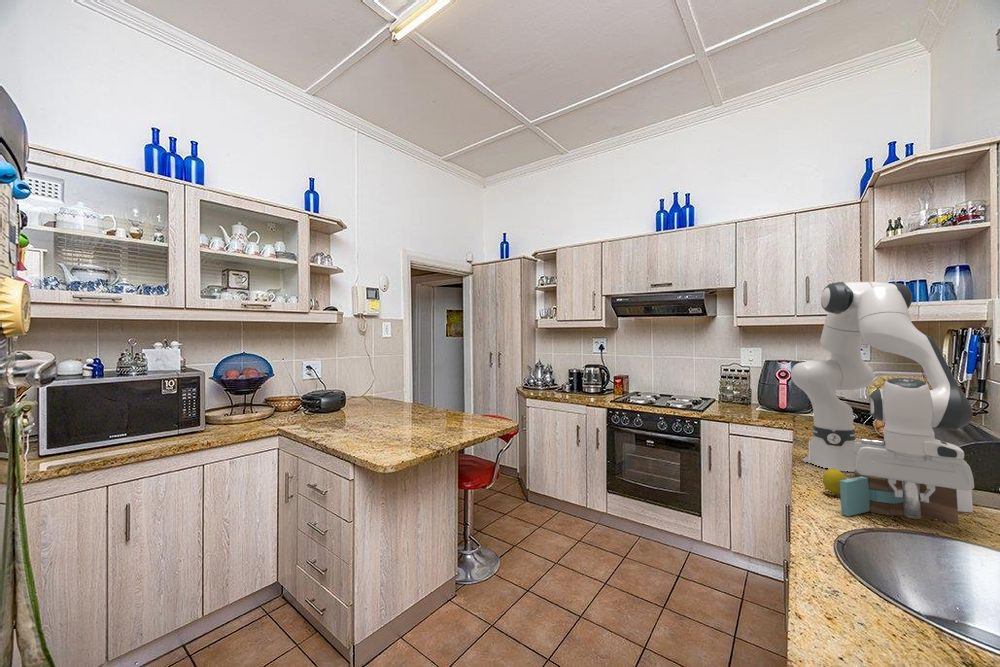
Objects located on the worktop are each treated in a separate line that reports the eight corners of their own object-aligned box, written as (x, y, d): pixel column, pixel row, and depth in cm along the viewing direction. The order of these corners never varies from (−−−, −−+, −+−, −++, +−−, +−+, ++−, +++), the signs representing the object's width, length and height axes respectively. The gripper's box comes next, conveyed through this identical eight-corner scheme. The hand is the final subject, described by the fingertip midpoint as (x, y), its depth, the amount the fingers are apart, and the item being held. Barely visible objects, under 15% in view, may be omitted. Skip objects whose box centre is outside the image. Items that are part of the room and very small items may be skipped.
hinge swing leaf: (868, 498, 112) (867, 468, 112) (910, 511, 103) (908, 478, 104) (825, 508, 106) (823, 476, 106) (865, 522, 97) (863, 487, 98)
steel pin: (902, 512, 99) (900, 469, 99) (919, 515, 97) (917, 471, 97) (904, 516, 97) (902, 472, 97) (921, 520, 95) (919, 474, 95)
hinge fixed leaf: (855, 499, 113) (854, 467, 113) (953, 516, 100) (951, 481, 101) (857, 509, 106) (855, 475, 106) (962, 529, 94) (959, 491, 94)
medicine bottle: (952, 502, 109) (949, 459, 110) (973, 513, 102) (970, 467, 103) (919, 500, 111) (917, 457, 112) (938, 510, 105) (936, 465, 105)
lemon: (838, 492, 118) (837, 465, 119) (852, 499, 113) (851, 471, 113) (818, 491, 119) (817, 465, 119) (832, 498, 113) (831, 470, 114)
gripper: (853, 440, 102) (855, 493, 101) (974, 453, 88) (977, 515, 88) (852, 435, 107) (854, 486, 106) (967, 447, 93) (970, 505, 93)
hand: (911, 499), depth 97 cm, fingers closed on steel pin, 3 cm apart
